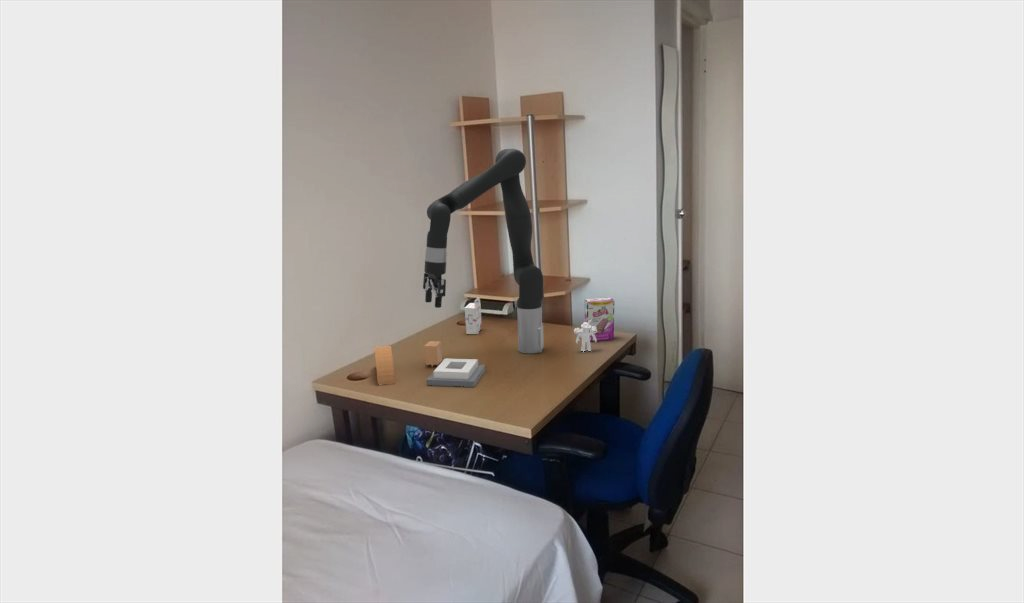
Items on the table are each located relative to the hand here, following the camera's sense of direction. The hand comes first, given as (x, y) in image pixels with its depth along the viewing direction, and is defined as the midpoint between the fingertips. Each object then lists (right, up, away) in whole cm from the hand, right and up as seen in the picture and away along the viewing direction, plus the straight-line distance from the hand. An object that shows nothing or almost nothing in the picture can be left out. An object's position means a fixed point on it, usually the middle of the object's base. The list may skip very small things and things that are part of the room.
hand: (433, 304), depth 228 cm
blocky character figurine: (+56, -18, +13) cm, 60 cm away
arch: (-16, -25, -5) cm, 30 cm away
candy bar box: (+63, -14, +27) cm, 70 cm away
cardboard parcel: (0, -22, +4) cm, 22 cm away
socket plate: (+9, -25, -10) cm, 28 cm away
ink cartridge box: (+12, -12, +43) cm, 46 cm away
